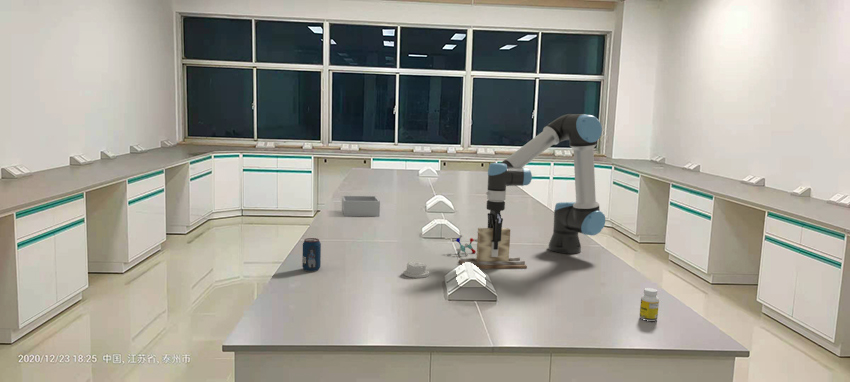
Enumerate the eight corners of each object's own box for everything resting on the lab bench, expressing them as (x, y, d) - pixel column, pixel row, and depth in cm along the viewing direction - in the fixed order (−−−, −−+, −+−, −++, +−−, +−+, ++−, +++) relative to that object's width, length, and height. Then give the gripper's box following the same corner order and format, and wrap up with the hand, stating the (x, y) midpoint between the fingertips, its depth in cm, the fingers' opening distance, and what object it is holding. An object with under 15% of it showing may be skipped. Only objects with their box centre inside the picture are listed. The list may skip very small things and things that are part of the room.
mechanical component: (423, 279, 233) (432, 273, 242) (424, 268, 232) (433, 262, 241) (399, 276, 236) (408, 270, 245) (399, 265, 235) (409, 259, 245)
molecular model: (476, 250, 269) (467, 229, 272) (456, 259, 271) (448, 238, 274) (483, 252, 280) (474, 232, 283) (464, 261, 282) (455, 240, 285)
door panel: (505, 260, 261) (507, 228, 259) (508, 262, 258) (510, 229, 256) (476, 260, 259) (478, 228, 257) (478, 262, 255) (480, 229, 253)
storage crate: (375, 210, 384) (375, 196, 383) (379, 216, 364) (379, 201, 363) (341, 210, 380) (341, 195, 379) (343, 216, 360) (344, 201, 359)
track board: (516, 261, 267) (517, 256, 267) (526, 268, 255) (527, 263, 255) (458, 261, 262) (459, 256, 261) (466, 269, 250) (466, 263, 250)
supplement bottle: (636, 316, 199) (638, 287, 198) (652, 316, 199) (655, 287, 198) (643, 322, 193) (646, 292, 192) (660, 322, 194) (663, 292, 193)
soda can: (313, 266, 245) (314, 237, 243) (323, 270, 240) (324, 240, 238) (298, 269, 240) (299, 239, 238) (308, 273, 235) (309, 242, 233)
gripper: (481, 197, 262) (478, 251, 265) (493, 203, 246) (490, 260, 249) (498, 197, 264) (495, 250, 267) (511, 203, 248) (507, 260, 251)
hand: (492, 255), depth 258 cm, fingers closed on door panel, 3 cm apart
